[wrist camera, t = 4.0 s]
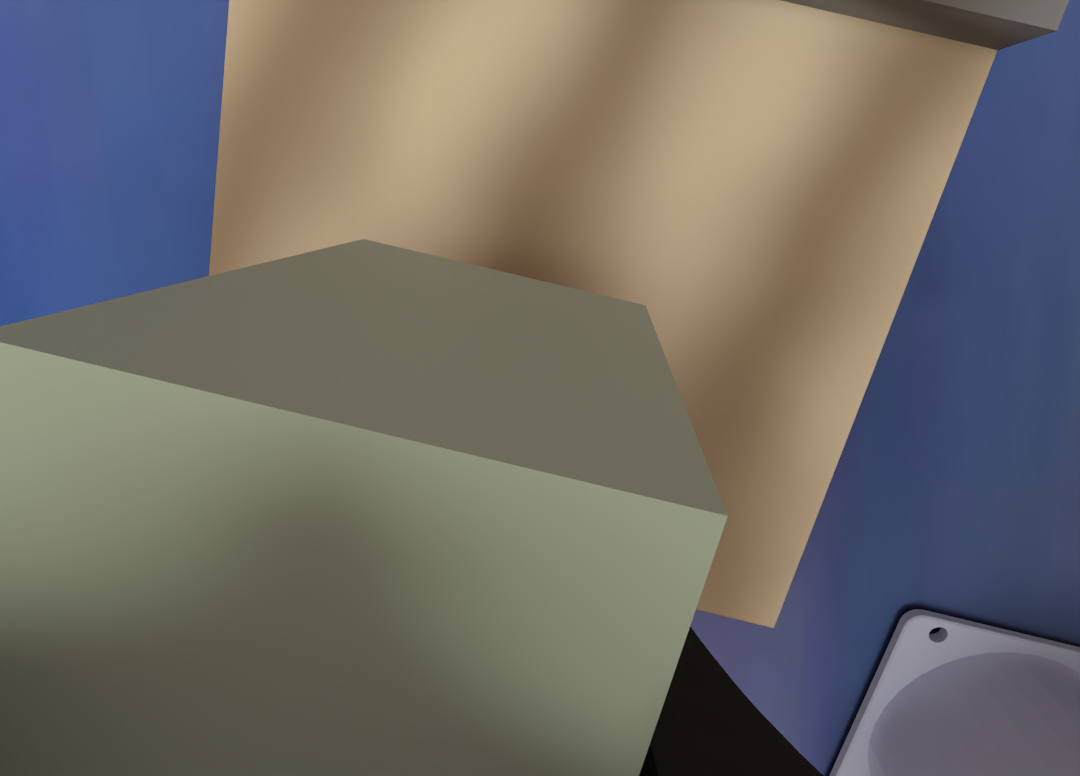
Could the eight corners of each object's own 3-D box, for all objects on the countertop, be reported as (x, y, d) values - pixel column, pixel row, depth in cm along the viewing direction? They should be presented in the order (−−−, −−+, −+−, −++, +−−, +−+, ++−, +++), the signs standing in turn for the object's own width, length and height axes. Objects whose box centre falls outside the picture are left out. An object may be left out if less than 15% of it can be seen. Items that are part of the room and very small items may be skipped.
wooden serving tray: (981, 10, 16) (1082, -34, 13) (761, 597, 21) (792, 676, 17) (274, -151, 16) (189, -239, 13) (220, 467, 21) (149, 522, 18)
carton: (645, 305, 11) (729, 515, 4) (534, 712, 13) (467, 1277, 6) (347, 234, 11) (-73, 323, 4) (292, 653, 13) (-30, 1151, 6)
